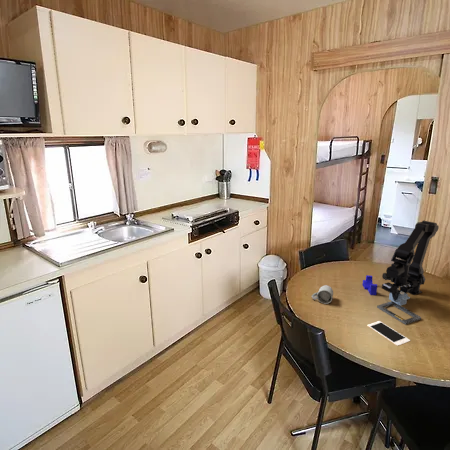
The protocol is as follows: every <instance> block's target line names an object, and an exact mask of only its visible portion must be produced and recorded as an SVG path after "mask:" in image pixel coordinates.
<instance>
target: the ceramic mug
mask: <svg viewBox="0 0 450 450" xmlns="http://www.w3.org/2000/svg"><path fill="white" fill-rule="evenodd" d="M333 297H334V290H333V288H332V287H331V286H330V285H327V284H325V285H322V286H320V287H319V290H318V292H314V293H313V294H312V295H311V298H312V300H316V301H319V303H321V304H324V305H327V304H330V303H331V302H332V301H333Z"/></svg>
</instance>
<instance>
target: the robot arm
mask: <svg viewBox="0 0 450 450" xmlns="http://www.w3.org/2000/svg"><path fill="white" fill-rule="evenodd" d="M438 230H439V225H438V223H437V222H434V221H428V220H422V221H419V222H417V223H416V224H415V225H414V228H413V230H412V232H411V233H410V235H409V236H408V238H407V239H406V241H405V242H404V243H401V244H399V246H398V247H397V248H395V251H394V253H393V255H392V258H391V260H390V261H391V262H393V263H391V265H390V266H387V267H386V271H385V272H383V273H382V279H383V280H385V281H390V282H385V283H382V284H381V289H382V290H384V291H386V292H387V293H389V294H390V293H392V297H393V300H394V301H396V300H397V298H398V296H399V294H400V292H401V291H402V292H404V293H406V294H410V295H413V296H415V295H419V294H422V293H423V291H421V290H420V288H421V286H422V285H425V282H426V277H425V275H424V272H425V271H424V267H423V263H424V260H425V257H426V253H427V250H428V247H429V243H430V241H431V239H432V238H433V237H435V236H436V234H437V232H438ZM399 290H400V291H399Z"/></svg>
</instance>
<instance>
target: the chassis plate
mask: <svg viewBox="0 0 450 450" xmlns="http://www.w3.org/2000/svg"><path fill="white" fill-rule="evenodd" d="M391 306H393V307H395V308H396V309H398V310H400V311H402V312H403V313H405V314H407V315H409V316H410V317H411V318H410V317H409V318H407V319H405V318H404V317H401V316H400V315H398V314H396V313H394V312H393V311H391V310H389V309H387V308H388V307H391ZM376 308H377V309H378V310H380V311H382V312H383V313H385V314H386V315H389V316H390V317H391V318H393V319H396V320H397V321H399V322H400V323H402V324H404V325H405V326H407V325H408V324H412V323H415V322H418V321H420V320H422V316H420V315H418V314H416V313H414V312H412V310H411V311H410V310H409V309H407V308H406V307H403V305H401V306H400V305H398V304H397V303H395V302H393V301H391V300H390V301H388V302H385V303H381V304H378V305H377V306H376Z"/></svg>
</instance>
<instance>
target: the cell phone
mask: <svg viewBox="0 0 450 450" xmlns="http://www.w3.org/2000/svg"><path fill="white" fill-rule="evenodd" d="M366 326H367V327H368V328H370V329H371V330H373V331H375V333H378V334H379V335H380V336H381V337H384V338H385V340H388V341H389V342H391V343H392V344H394V345H395V346H402V345H404V344H406V343H409V342H410V341H411V339H409V338H408V337H406V336H405V335H403V334H402V333H400V332H398V331H396V330H395V329H393V328H391V327H390V326H388V325H387V324H385V323H384V322H382V321H381V320H378V321H375V322H372V323H369V324H367V325H366Z"/></svg>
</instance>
